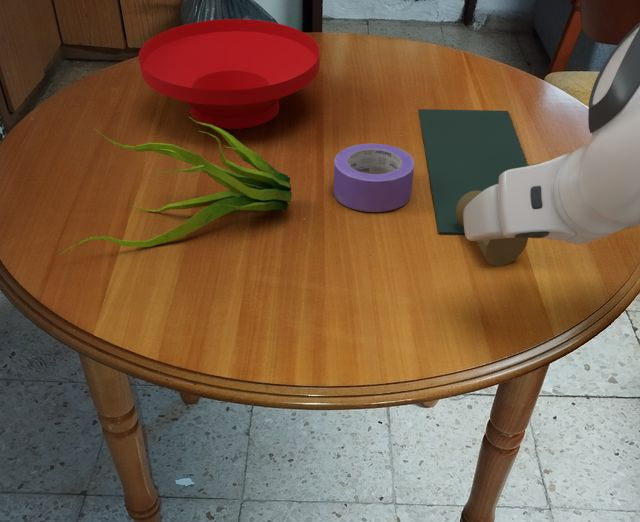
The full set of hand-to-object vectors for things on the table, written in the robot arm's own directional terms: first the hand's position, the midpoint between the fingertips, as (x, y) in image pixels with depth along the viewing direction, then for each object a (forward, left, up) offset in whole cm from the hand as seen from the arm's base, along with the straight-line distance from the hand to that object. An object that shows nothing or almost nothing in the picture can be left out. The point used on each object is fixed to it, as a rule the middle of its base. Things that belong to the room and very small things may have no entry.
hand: (529, 229), depth 82 cm
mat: (+1, -31, -8) cm, 32 cm away
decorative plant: (+44, -10, -8) cm, 46 cm away
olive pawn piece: (+1, -3, -5) cm, 6 cm away
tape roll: (+18, -22, -8) cm, 29 cm away
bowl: (+42, -50, -8) cm, 66 cm away
